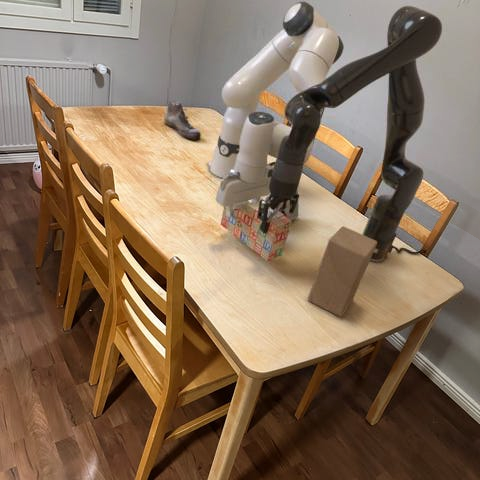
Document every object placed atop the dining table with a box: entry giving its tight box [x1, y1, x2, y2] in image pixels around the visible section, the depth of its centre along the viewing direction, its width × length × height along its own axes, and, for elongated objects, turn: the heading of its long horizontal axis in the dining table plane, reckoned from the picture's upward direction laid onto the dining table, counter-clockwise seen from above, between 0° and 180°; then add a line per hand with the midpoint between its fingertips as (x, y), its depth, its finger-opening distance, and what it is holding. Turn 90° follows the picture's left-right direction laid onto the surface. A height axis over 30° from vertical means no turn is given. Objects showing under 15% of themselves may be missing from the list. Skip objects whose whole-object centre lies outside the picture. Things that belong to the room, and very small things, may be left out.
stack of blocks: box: [220, 200, 293, 262], centre depth 129 cm, size 21×6×12 cm, turn 42°
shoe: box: [163, 100, 202, 142], centre depth 205 cm, size 25×11×12 cm, turn 30°
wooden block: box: [307, 226, 377, 318], centre depth 116 cm, size 10×10×20 cm
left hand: (240, 212), depth 133 cm, fingers open, 8 cm apart
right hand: (272, 228), depth 125 cm, fingers closed on stack of blocks, 6 cm apart
